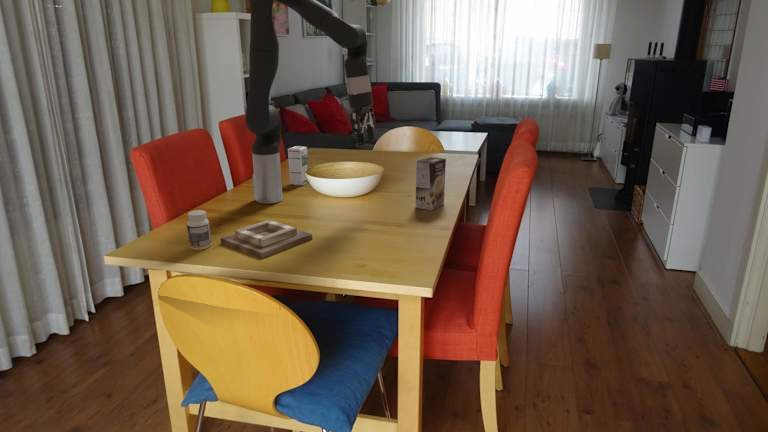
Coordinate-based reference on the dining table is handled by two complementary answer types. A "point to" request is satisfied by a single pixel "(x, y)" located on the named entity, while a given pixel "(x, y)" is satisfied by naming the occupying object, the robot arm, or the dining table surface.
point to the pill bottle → (198, 230)
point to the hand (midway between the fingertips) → (366, 142)
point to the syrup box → (298, 165)
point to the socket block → (266, 238)
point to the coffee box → (430, 183)
